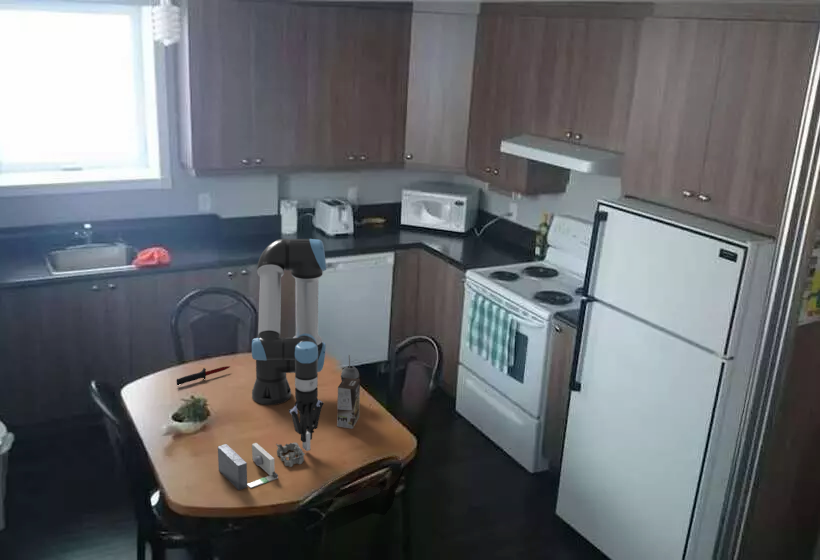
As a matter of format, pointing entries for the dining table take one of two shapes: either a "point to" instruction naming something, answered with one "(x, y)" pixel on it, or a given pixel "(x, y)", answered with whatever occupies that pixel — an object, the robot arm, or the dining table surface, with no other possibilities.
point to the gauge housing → (237, 469)
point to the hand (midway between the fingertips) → (306, 448)
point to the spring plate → (263, 459)
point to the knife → (199, 375)
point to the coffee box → (348, 402)
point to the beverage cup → (350, 372)
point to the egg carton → (290, 454)
